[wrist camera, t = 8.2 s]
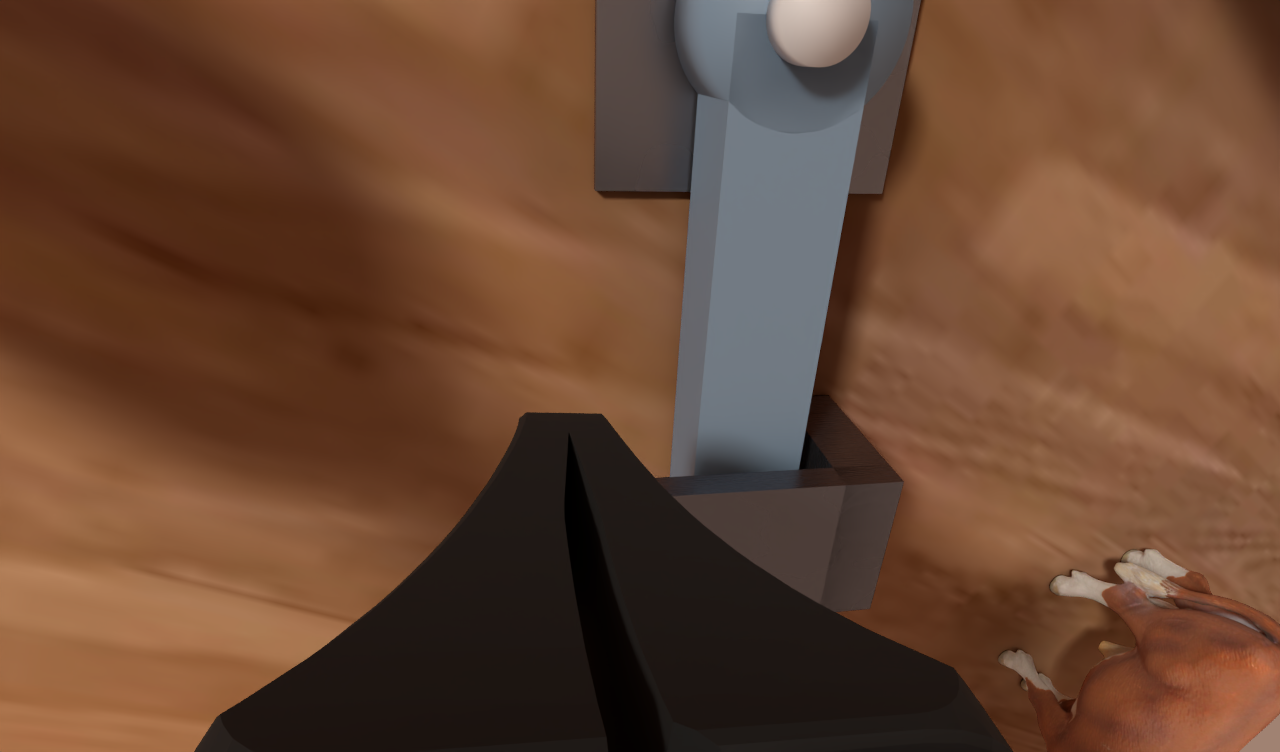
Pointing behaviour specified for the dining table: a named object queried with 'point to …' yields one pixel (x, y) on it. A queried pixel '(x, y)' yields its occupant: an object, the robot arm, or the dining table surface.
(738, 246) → the link
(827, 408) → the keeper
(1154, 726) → the bull figurine
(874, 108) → the grey flat square plate
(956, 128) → the dining table surface
